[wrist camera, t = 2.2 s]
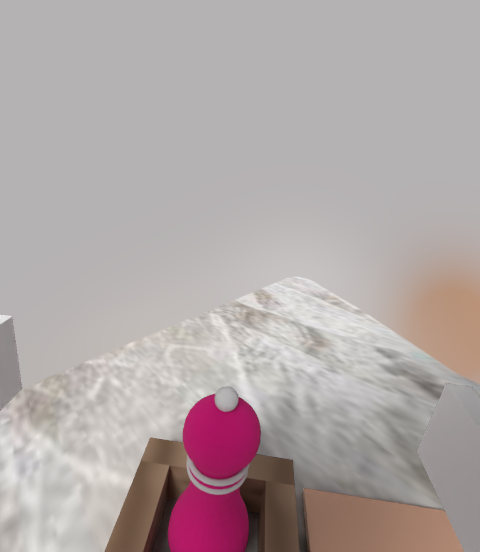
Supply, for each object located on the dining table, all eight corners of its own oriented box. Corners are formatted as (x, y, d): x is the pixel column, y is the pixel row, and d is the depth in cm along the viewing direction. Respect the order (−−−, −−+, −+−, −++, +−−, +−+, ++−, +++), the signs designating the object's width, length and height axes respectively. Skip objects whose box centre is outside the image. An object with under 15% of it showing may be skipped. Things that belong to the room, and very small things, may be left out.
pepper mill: (152, 546, 33) (159, 377, 25) (214, 505, 37) (236, 350, 30) (191, 628, 28) (215, 446, 20) (258, 569, 32) (297, 402, 25)
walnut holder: (285, 491, 40) (292, 460, 38) (294, 700, 25) (308, 665, 23) (149, 469, 40) (150, 437, 38) (78, 661, 25) (75, 625, 23)
